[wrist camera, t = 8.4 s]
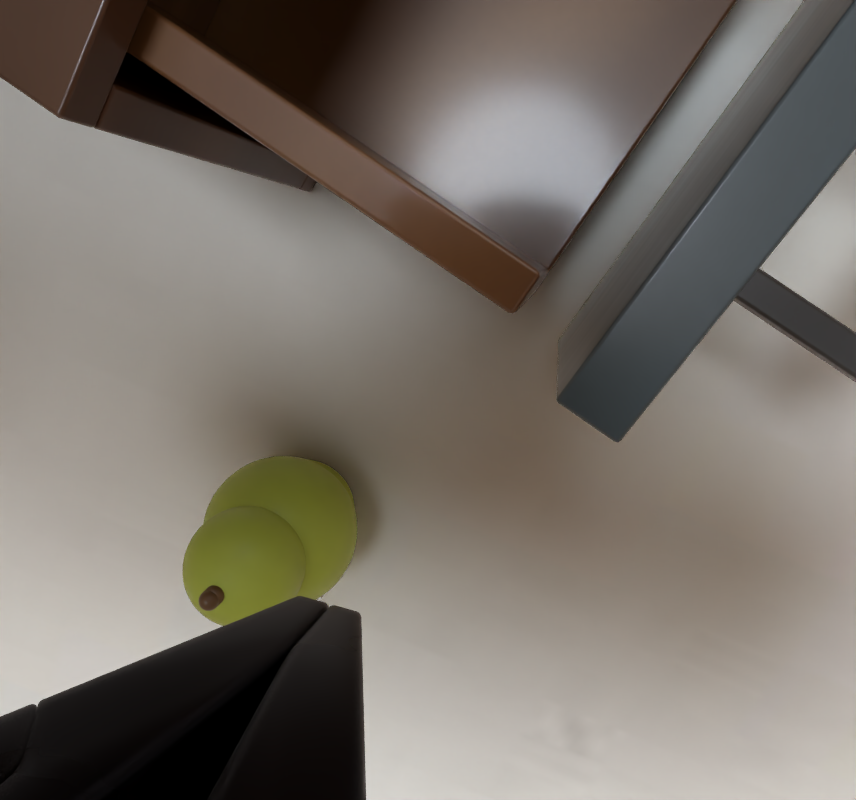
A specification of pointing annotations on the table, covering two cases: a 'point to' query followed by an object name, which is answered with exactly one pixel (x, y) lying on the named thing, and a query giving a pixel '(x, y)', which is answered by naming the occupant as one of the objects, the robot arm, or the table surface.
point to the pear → (270, 538)
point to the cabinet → (119, 84)
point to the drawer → (543, 151)
